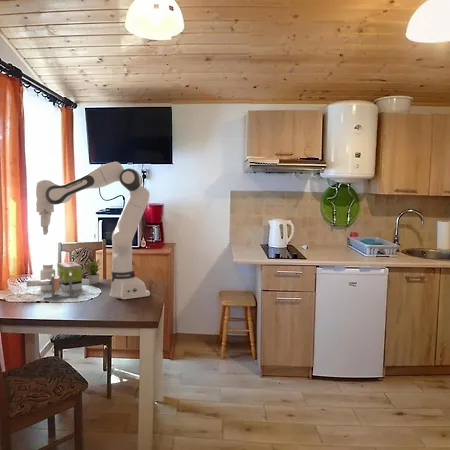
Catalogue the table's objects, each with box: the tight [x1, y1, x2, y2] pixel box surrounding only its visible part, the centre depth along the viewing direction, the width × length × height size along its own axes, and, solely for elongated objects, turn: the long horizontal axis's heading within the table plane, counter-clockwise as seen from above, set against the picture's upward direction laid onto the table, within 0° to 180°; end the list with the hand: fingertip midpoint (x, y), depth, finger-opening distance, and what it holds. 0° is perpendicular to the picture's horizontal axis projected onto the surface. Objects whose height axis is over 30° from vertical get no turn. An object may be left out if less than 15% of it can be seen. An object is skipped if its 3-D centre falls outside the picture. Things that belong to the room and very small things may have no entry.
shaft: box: [26, 279, 63, 288], centre depth 219 cm, size 18×3×3 cm, turn 111°
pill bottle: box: [39, 263, 56, 291], centre depth 236 cm, size 8×8×15 cm
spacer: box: [54, 275, 61, 292], centre depth 221 cm, size 3×7×7 cm, turn 21°
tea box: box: [56, 261, 83, 292], centre depth 240 cm, size 15×10×15 cm
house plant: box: [81, 258, 104, 285], centre depth 252 cm, size 14×14×16 cm
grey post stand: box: [43, 273, 78, 300], centre depth 222 cm, size 17×10×12 cm, turn 111°
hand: (45, 233), depth 224 cm, fingers open, 8 cm apart
